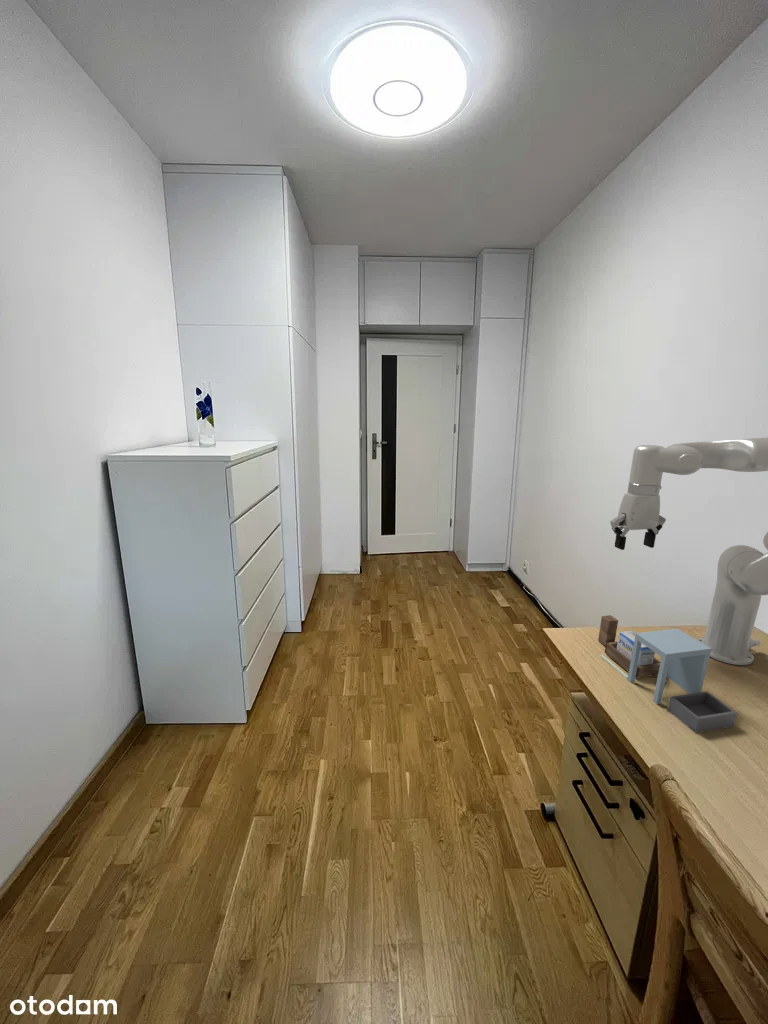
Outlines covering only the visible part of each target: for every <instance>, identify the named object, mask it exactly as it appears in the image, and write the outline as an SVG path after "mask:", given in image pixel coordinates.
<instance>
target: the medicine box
mask: <svg viewBox="0 0 768 1024" xmlns="http://www.w3.org/2000/svg"><path fill="white" fill-rule="evenodd" d="M636 633H637V632H635V631H634V630H627V631H626V630H625V631H621V632H620V631H619V633H618V639H617V642H618V644H617V650H618V651H619V652H621V653H622V654H623V655H625V656H626V657H627V658H628V659H630V660H631V657H632V651H633V646H634V640H635V634H636ZM655 654H656V653H655V652H654V651H652V650H651V649H649V648H648V647H647V646H645V645H644V644H642V643H641V649H640V654H639V660H638V665H637V666H640V665H648V664H653V659H654V657H655Z"/></svg>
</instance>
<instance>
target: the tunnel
mask: <svg viewBox="0 0 768 1024" xmlns="http://www.w3.org/2000/svg"><path fill="white" fill-rule="evenodd" d="M635 633H636V634H635V640H634V646H633V651H632V657H631V663H630V668H629V672H628V674H627V676H628V678H627V681H628V682H630V683H634V682H635V681H636V678H635V676H636V671H637V665H638V660H639V654H640V649H641V643H642V644H644V645H645V646H647V647H648V648H649V649H651V650H652V651H654V652H655V654H657V655H658V656H660V662H661V663H660V668H659V673H658V675H657V678H656V685H655V688H654V693H653V698H652V702H653V703H654V704H656V705H661V704H662V699H663V694H664V689H665V684H666V679H667V678H668V679H669V680H670V681H672V682H674V684H676V685H678V687H680V688H681V689H683V690H684V691H685V692H687V694H692V693H699V692H703V686H704V681H705V677H706V673H707V669H708V664H709V660H710V652H711V648H709V647H708V646H706V645H704V644H703V643H701V642H699V641H698V639H695V638H694V637H692V636H691V635H689V634H688V633H686V632H684V631H682V630H681V629H679V628H670V629H662V630H653V631H652V630H651V631H645V632H644V631H643V632H635Z"/></svg>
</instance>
